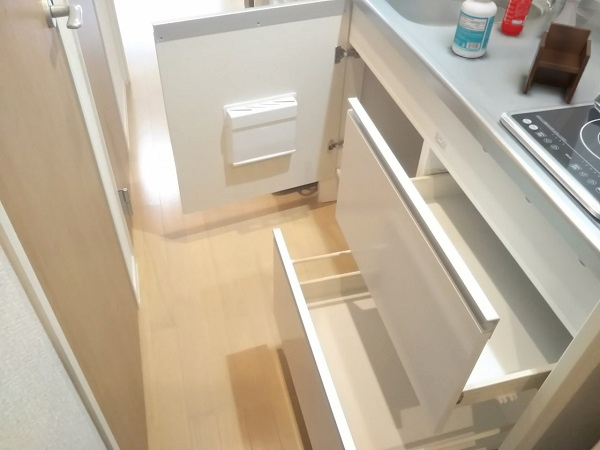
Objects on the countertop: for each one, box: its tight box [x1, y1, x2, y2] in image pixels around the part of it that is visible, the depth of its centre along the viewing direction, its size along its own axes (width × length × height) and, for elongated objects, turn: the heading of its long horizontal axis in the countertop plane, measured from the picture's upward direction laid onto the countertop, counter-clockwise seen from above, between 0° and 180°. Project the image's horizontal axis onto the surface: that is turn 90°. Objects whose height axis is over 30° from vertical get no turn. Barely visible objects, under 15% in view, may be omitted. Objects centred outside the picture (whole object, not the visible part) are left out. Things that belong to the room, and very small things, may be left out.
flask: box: [546, 0, 582, 32], centre depth 123 cm, size 7×7×10 cm
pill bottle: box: [451, 0, 498, 59], centre depth 114 cm, size 8×7×14 cm
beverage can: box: [500, 0, 534, 37], centre depth 124 cm, size 5×5×12 cm
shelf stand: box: [522, 21, 592, 105], centre depth 103 cm, size 9×8×12 cm
